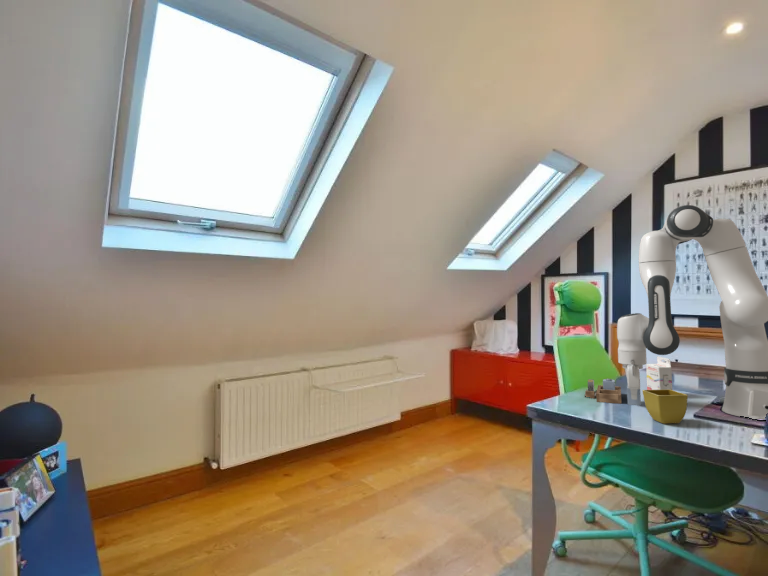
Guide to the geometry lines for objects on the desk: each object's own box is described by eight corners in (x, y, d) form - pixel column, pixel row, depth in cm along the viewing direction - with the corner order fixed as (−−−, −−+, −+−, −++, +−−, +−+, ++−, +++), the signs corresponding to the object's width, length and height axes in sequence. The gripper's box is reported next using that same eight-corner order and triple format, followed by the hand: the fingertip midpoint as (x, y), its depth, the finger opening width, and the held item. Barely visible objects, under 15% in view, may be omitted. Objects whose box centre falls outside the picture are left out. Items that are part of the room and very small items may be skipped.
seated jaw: (615, 395, 166) (614, 378, 167) (615, 397, 163) (614, 380, 163) (603, 394, 168) (603, 378, 168) (603, 396, 165) (602, 379, 165)
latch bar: (594, 391, 173) (593, 378, 173) (593, 394, 168) (593, 380, 168) (589, 391, 174) (588, 377, 174) (588, 394, 169) (587, 380, 169)
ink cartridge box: (646, 393, 168) (644, 356, 168) (659, 393, 168) (657, 356, 168) (660, 398, 159) (658, 359, 160) (673, 398, 159) (671, 358, 160)
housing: (621, 393, 168) (620, 386, 168) (621, 403, 153) (621, 395, 153) (586, 391, 174) (586, 384, 174) (583, 400, 159) (583, 392, 159)
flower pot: (642, 418, 134) (641, 389, 134) (671, 417, 134) (669, 388, 134) (660, 426, 125) (658, 395, 126) (690, 425, 125) (688, 394, 125)
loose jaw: (640, 403, 153) (639, 385, 153) (640, 405, 149) (640, 387, 150) (627, 402, 155) (626, 384, 155) (627, 404, 151) (627, 386, 151)
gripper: (643, 362, 142) (645, 404, 141) (640, 355, 160) (642, 392, 159) (622, 362, 145) (624, 402, 145) (621, 354, 163) (623, 391, 162)
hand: (633, 397), depth 152 cm, fingers open, 5 cm apart
